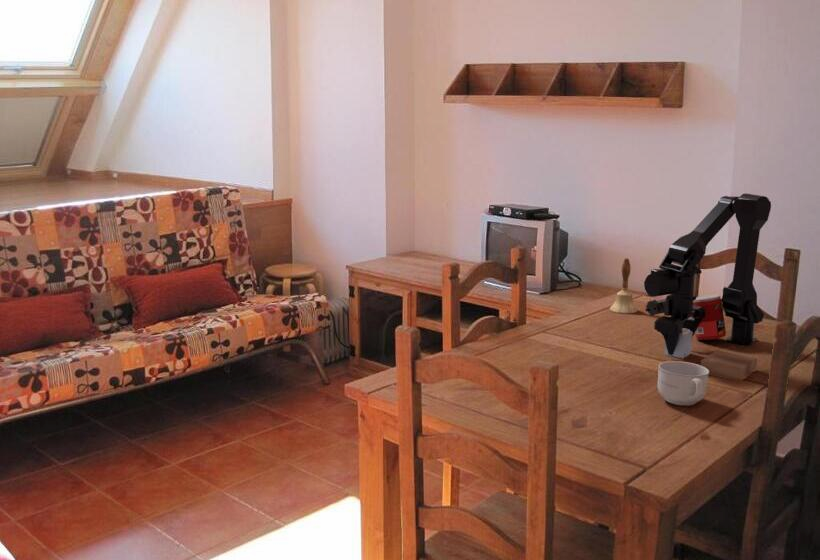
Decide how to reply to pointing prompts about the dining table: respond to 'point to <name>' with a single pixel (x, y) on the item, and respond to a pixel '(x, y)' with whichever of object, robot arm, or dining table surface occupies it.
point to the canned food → (710, 318)
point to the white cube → (682, 345)
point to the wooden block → (729, 365)
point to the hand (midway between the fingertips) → (678, 350)
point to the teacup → (682, 382)
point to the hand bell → (624, 293)
